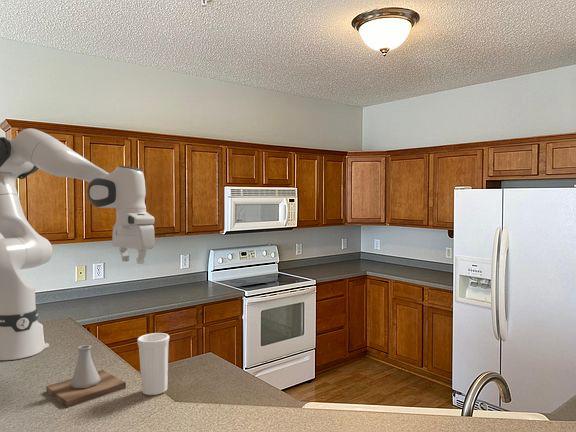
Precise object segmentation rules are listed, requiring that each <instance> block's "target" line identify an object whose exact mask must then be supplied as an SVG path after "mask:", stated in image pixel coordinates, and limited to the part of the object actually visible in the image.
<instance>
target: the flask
mask: <svg viewBox="0 0 576 432" xmlns="http://www.w3.org/2000/svg"><path fill="white" fill-rule="evenodd" d="M91 348H92V345H89V344H84V345H80V346H78V347H77V348H76V349H77V351H78V357H77V358H78V359H77V362H76V366H75V370H74V372H73V375H72V377H71V379H72V380H71V383H70V386H71V387H73V388H88V387H91V386H94V385H96V384H97V383H99V382H100V381H101V379H100V376H99V374H98V372H97V371H98V370H97V369H96V366H95V364H94V362H93V359H92V354H91Z"/></svg>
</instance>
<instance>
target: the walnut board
mask: <svg viewBox="0 0 576 432" xmlns="http://www.w3.org/2000/svg"><path fill="white" fill-rule="evenodd" d="M97 372H98V374H99V376H100V379H101V381H100V382H99V383H97V384H96V385H94V386H91V387H88V388H73V387H71V386H70V383H71V380H72V378H69V379H66V380H63V381H59V382H55V383H53V384H48V385H46V393H47V394H48V395H50V396H52V398H54V399H55V400H56V401H58V402H59V403H61V405H63V406H64V407H66V408H70V407H74V406H76V405H79V404H82V403H85V402H88V401H92V400H94V399H97V398H101V397H103V396H107V395H109V394H112V393H116V392H118V391H121V390H125V389H127V383H126V381H124V380H122V379H120V378H118V377H116V376H115V375H113V374H111V373H110V372H107V371H105V370H103V369H101V370H97Z"/></svg>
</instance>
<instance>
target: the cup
mask: <svg viewBox="0 0 576 432" xmlns="http://www.w3.org/2000/svg"><path fill="white" fill-rule="evenodd" d="M136 342H137V346H138V353H139V354H138V355H139V366H140V375H141V376H140V377H141V379H140V380H141V391H142V394H145V395H147V396H154V395H160V394H163V393H164V392H167V390H168V382H169V381H168V375H169V369H168V368H169V342H170V335H169V334H168V333H164V332H153V333H146V334H143V335H141V336H138V338H137V340H136Z"/></svg>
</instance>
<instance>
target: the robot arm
mask: <svg viewBox="0 0 576 432" xmlns="http://www.w3.org/2000/svg"><path fill="white" fill-rule="evenodd" d="M39 170H40V171H42V172H45V173H47V174H49V175H52V176H56V177H61V178H69V179H70V178H71V179H77V180H80V181H81V180H82V181H83V182H84V181H85V182H87V183H89V184H88V185H87V188H86V196H87V199H88V201H89V203H90V204H91V205H92V206H93V207H95V208H99V209H100V208H101V209H115V211H116V212H115V217H116V218H115V219H116V220H115V223H114V224H113V227H112V237H111V238H112V246H113V247H114V248H115V247H117V248H119V249H118V250H119V253H120V256H121V261H122V262H129V261H130V255H129V254H128V250H129V249H135V250H137V253H138V255H137V257H136V264H138V265H142V264H145V257H146V255H147V250H152V249H153V248H154V246H155V226H154V224H155V219H156V218H155V217H154V216H153V215H152V214H150V213H149V212H147V206H146V203H145V200H146V196H147V195H146V193H147V192H146V191H147V190H146V180H145V174H144V172H143V170H142V169H141V168H138V167H135V166H128V165H118V166H117V167H116V168H115V169H114V170H113V171H112V172H110V171H108V170H105V169H104V168H102V167H100V166H98V165H97V164H94V162H91V161H89V159H87V158H86V157H84V156H82V155H81V154H79V153H77V152H76V151H74V150H73V149H72V148H70V147H68V145H65V143H63V142H61V141H60V140H58V139H57V138H55V137H53V136H52V135H50V134H48V133H46V132H43V131H41V130H39V129H36V128H30V127H29V128H25V129H23V130H22V129H21V131H19V132H18V133H17V134H16V136H15V138H13V139H7V138H6V137H5V136H3V137H2V136H1V137H0V234H1V235H2V237H3V238H0V361H12V360H19V359H25V358H27V357H28V358H29V357H31V356H35V355H38V354H39V353H41V352H42V351H43V350H45V349H47V348H49V347H50V344H49V343H48V342H45V337H44V326H43V324H42V323H40V322H39V321H38V316H39V313H38V309H37V303H36V287H34V285H33V283H31V282H29V281H27V280H24V279H23V277H22V276H23V275H22V274H21V270H26V269H33V268H37V267H40V266H42V265H44V264H46V263H49V261H50V260H51V259H52V256H53V246H52V244H51V242H50V240H48V239H47V238H45V237H44V236H42V235H41V234H39V233H38V232H37V231H36V230H35V229H34V228H33V227H32V225H31V224H30V222H28V219H27V218H26V216H25V213H24V210H23V208H22V205H21V201H20V197H19V193H18V191H17V188H16V181H17V179H20V180H24V179H26V178H27V177H28V176H29V175H32V174H34V173H36V172H37V171H39Z"/></svg>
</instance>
